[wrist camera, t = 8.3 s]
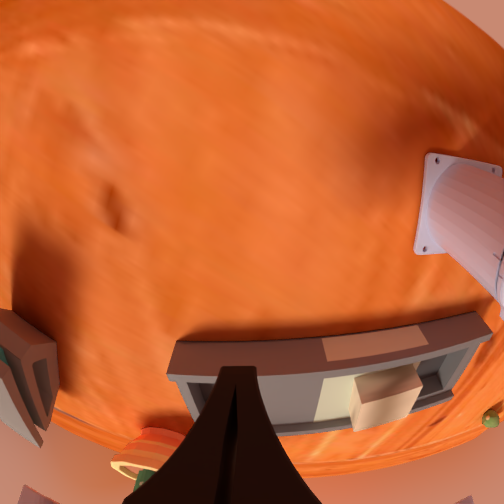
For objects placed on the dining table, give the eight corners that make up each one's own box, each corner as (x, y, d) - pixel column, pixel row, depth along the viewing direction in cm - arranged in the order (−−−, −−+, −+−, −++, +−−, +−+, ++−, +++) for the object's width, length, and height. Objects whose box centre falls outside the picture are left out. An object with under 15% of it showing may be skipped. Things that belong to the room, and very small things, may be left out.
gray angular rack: (7, 270, 21) (-50, 328, 11) (56, 305, 22) (1, 379, 13) (26, 377, 31) (2, 421, 21) (62, 400, 32) (40, 448, 23)
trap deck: (475, 310, 22) (493, 332, 19) (440, 378, 28) (450, 399, 24) (176, 340, 23) (166, 373, 20) (200, 408, 29) (196, 435, 25)
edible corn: (500, 414, 33) (488, 429, 34) (503, 420, 39) (494, 432, 40) (488, 404, 38) (477, 419, 39) (494, 412, 44) (485, 424, 45)
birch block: (411, 362, 21) (423, 385, 18) (399, 395, 24) (407, 416, 21) (353, 377, 22) (361, 404, 19) (348, 409, 24) (353, 431, 21)
